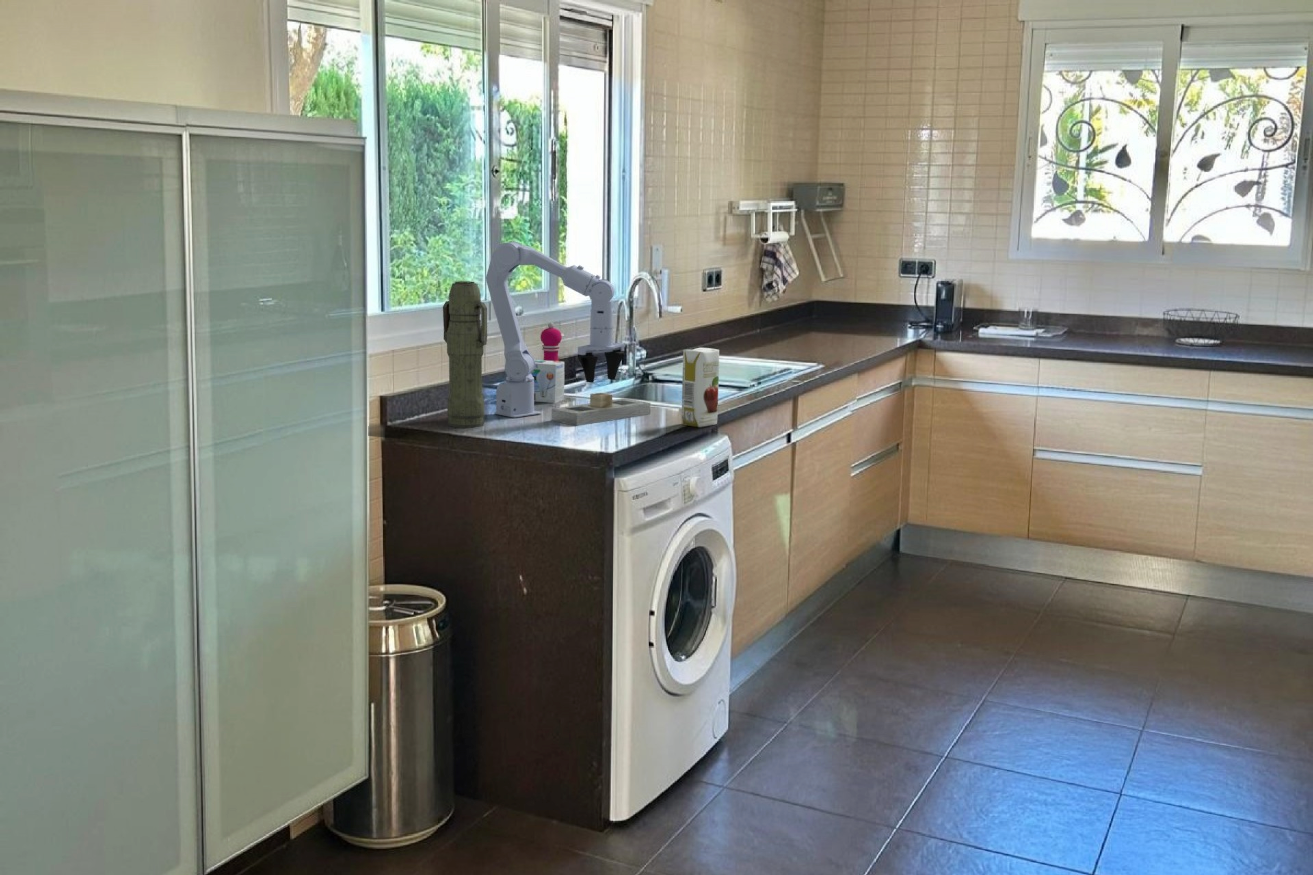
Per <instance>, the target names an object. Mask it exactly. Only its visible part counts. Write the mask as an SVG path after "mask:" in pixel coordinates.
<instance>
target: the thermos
mask: <svg viewBox="0 0 1313 875" xmlns="http://www.w3.org/2000/svg"><path fill="white" fill-rule="evenodd" d="M481 300H482V294H481V291H480V287H479V286H478V283H476V282H475V281H469V280H468V281H464V280H463V281H462V280H461V281H459V280H458V281H454V282H453V283H451V286H450V289H449V293H448V300H446V301H445V303H443V306H442V316H443V318H442V320H443V321H442V322H443V340H444V341H445V343H446V353H447V355H448V374H449V375H448V376H449V381H448V382H449V384H448V385H449V386H448V387H449V389H448V390H449V391H448V395H447V398H446V400H447V402H446V403H447V404H446V406H447V407H446V408H447V409H446V413H447V416H448V422H447V425H448V427H452V428H459V429H469V428H471V429H473V428H479V427H482V426H484V422H485V421H484V416H485V396H484V394H483V382H482V381H483V378H482V376H483V374H482V372H483V368H482V364H483V363H482V362H483V361H482V358H483V355H484V352H485V351H484V349H485V348H484V347H485V346H486V345H487V343H488V307H487V305H486V304H485V302H482V301H481Z"/></svg>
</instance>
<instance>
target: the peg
mask: <svg viewBox="0 0 1313 875" xmlns="http://www.w3.org/2000/svg"><path fill="white" fill-rule="evenodd" d="M589 396H590V397H589V399H590V400H589V403H590V406H592V407H597V408H607V407H612V400H613V394H611V393H606V392H597V393H596V392H595V393H590V394H589Z"/></svg>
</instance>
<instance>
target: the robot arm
mask: <svg viewBox="0 0 1313 875" xmlns="http://www.w3.org/2000/svg"><path fill="white" fill-rule="evenodd" d="M519 266H535V267H537V268H539V269H541V270H543V271H546V272H547V273H550V274H551V275H554V276H556V277H558V278H560V279H561V281H562V282H563V286H565V287H566V288H568V289H570V290H573V291H574V292H577V293H579V295H582V296H584V297H589V299H590V301H591V302H590V303H591V306H590V307H591V309H590V320H589V321H590V326H589V327H590V330H589V333H590V334H589V344H586V345H583V346H577V359H578V360H579V363H580V364H581V367H582V369H583V373H584V377H585V378H584V379H585V381H586V383H594V381H595V372H596V365H597V361H598V359H599V357H598V355H597V356H595V355H594V354H601V353H603V354H604V357H605V361H606V369H607V370H606V371H607V372H606V373H607V379H608V380H611V381H615V380H616V377H617V375H618V374H617V373H618V370H619V367H620V365H621V363H622V360H624V358H625V343H623V342H614V341H613V340H614V339H613V335H614V333H613V330H614V310H613V306H614V303H613V300H612V299H613V297H614V295H615V288H614V285H613V283H612V282H610V281H609V280H608V279H606V278H601V276H600V275H599V274H596V275H594V274H593V273H590V272H589V271H587V270H585V267H584V266H582V265H580V264H579V265H578V266H577V265H574V264H573V265H570V266H566V265H564V264H562V263H560V262H559V261H557V260H555V259H553V258H551V257H550V256H548V255H546V254H545V253H543V252H541V251H539V250H537V249H536V248H533V247H530V246H528V245H525V244H522V243H520V242H518V241H515V240H514V241H513V240H512V241H508V242H503V243H501V244H499V245H497V247H496V248H495V250H494V251H493V252H492V253H491V255H490V262H489V265H488V269H487V272H486V275H485V281H486V285H487V289H488V292H489V295H490V299H491V303H492V307H493V309H494V314H495V317H496V320H497V323H498V327H499V331H500V335H501V337H502V342H503V345H504V349H503V350H504V358H505V364H504V371H505V374H506V377H505V380H504V381H502V382H500V383H498V385H497V386H496V387H497V388H496V392H495V394H496V395H495V396H496V400H495V402H496V410H495V411H494V414H496V415H500V416H505V417H509V418H520V417H527V416H534V415H541V414H542V411H538V410H535V401H534V377H533V376H532V374H531V373H532V372H533V370H534V368H535V360H536V359H535V358H534V357H533V356H532V354H531V353H530V351H529V349H528V347H527V344H526V343H525V341H524V337H523V335H522V332H521V328H520V324H519V320H518V317H517V312H516V311H515V310H516V309H515V306H514V303H513V299H512V295H511V292H510V288H509V285H508V280H509V278H511V277H510V276H511V275H512V273H513V271H515V269H516V268H518V267H519Z"/></svg>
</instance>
